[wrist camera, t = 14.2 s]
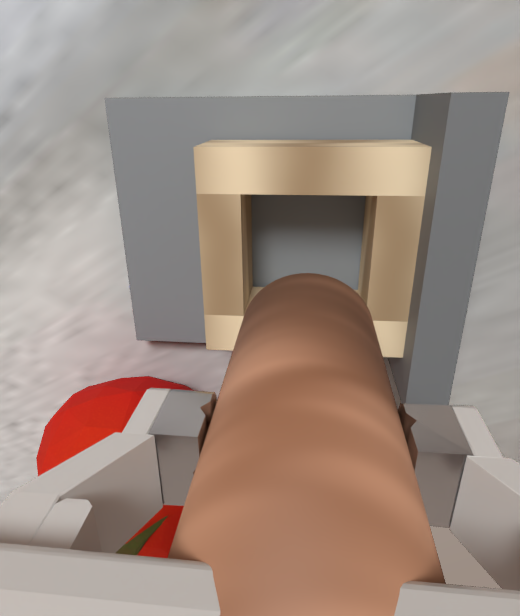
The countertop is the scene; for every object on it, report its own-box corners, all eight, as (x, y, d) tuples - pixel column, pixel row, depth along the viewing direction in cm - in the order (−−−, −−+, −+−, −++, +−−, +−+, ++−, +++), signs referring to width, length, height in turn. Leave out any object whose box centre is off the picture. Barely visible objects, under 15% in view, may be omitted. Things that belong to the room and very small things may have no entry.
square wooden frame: (411, 139, 22) (431, 146, 19) (390, 322, 27) (402, 357, 23) (211, 140, 23) (193, 146, 20) (220, 316, 28) (206, 349, 24)
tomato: (159, 507, 37) (99, 666, 27) (49, 385, 33) (-71, 516, 23) (288, 454, 34) (278, 613, 23) (182, 310, 30) (112, 424, 19)
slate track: (460, 94, 23) (523, 91, 16) (422, 340, 29) (457, 413, 22) (115, 98, 25) (42, 96, 18) (144, 329, 31) (97, 394, 24)
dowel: (380, 275, 13) (541, 682, 4) (367, 393, 15) (459, 873, 6) (240, 271, 13) (87, 632, 4) (243, 386, 15) (137, 825, 6)
